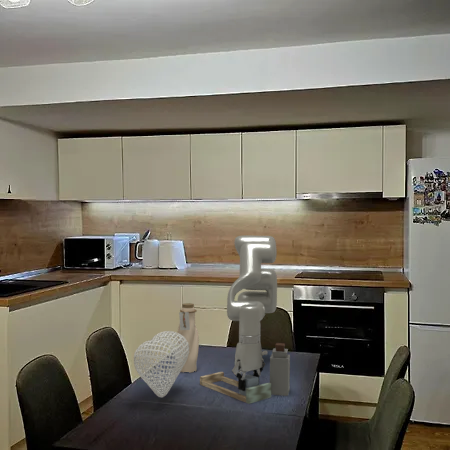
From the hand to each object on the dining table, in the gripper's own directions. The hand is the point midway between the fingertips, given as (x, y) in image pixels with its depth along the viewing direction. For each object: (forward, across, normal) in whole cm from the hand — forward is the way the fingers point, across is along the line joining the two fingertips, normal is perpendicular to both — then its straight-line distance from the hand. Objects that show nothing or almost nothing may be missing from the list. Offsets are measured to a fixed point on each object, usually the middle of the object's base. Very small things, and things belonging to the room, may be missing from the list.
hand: (248, 387), depth 200 cm
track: (+3, 0, -8) cm, 9 cm away
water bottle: (+3, -2, -40) cm, 40 cm away
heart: (+3, +25, -19) cm, 32 cm away
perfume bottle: (+3, -12, +4) cm, 13 cm away
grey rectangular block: (+3, 0, 0) cm, 3 cm away
